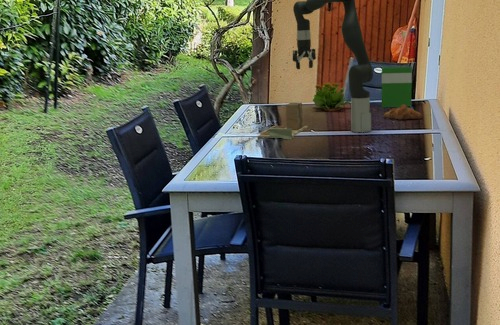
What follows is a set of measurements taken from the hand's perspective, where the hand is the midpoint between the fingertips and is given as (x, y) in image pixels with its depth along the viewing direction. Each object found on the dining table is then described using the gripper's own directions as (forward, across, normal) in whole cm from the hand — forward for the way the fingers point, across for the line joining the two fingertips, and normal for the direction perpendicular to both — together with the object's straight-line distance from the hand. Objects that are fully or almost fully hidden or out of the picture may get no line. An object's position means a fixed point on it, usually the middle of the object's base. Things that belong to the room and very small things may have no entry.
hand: (304, 68), depth 337 cm
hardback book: (+30, +68, -3) cm, 74 cm away
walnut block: (+28, -22, -19) cm, 40 cm away
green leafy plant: (+30, +34, +17) cm, 48 cm away
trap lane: (+29, -31, -21) cm, 48 cm away
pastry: (+30, +40, -35) cm, 61 cm away
